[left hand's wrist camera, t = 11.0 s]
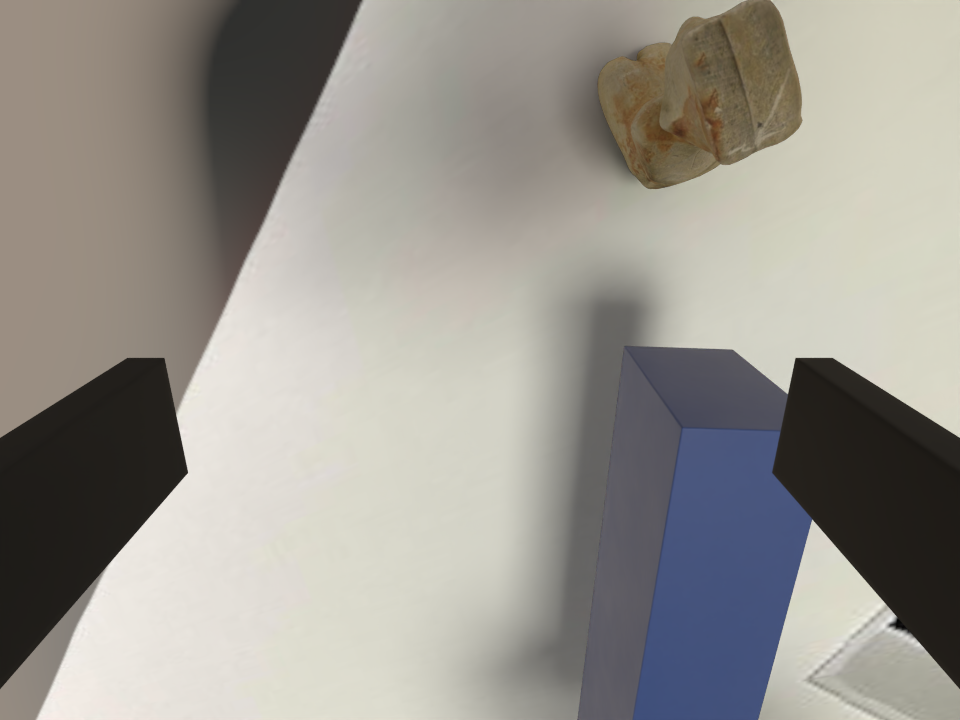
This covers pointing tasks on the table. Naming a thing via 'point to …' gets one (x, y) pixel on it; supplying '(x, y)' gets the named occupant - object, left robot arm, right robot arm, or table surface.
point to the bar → (691, 542)
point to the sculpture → (703, 95)
